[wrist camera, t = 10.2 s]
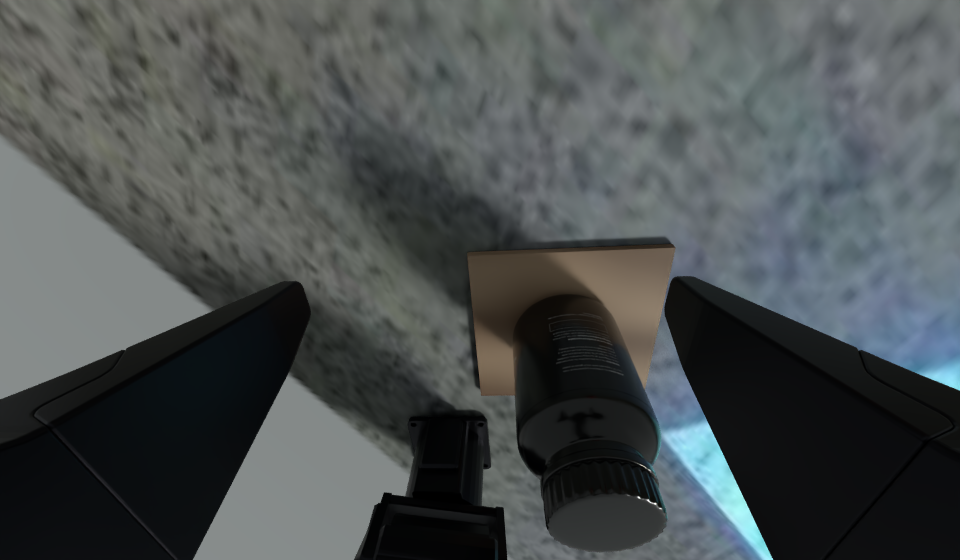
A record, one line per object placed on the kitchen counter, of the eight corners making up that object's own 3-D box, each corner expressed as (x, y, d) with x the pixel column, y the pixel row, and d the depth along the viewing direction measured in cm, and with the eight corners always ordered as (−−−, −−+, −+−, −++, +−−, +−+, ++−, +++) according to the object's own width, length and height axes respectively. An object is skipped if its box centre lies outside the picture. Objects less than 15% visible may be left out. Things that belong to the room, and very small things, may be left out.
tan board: (641, 388, 28) (643, 394, 28) (481, 390, 29) (481, 395, 29) (672, 244, 22) (675, 247, 22) (467, 251, 23) (467, 255, 23)
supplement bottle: (492, 341, 26) (485, 531, 16) (556, 270, 23) (600, 449, 13) (569, 384, 28) (609, 580, 17) (638, 323, 25) (737, 519, 14)
